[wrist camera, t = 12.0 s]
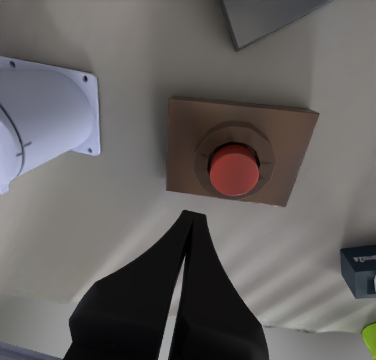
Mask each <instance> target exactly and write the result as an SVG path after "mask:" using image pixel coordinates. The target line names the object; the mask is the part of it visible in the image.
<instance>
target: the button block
mask: <svg viewBox="0 0 376 360" xmlns="http://www.w3.org/2000/svg"><path fill="white" fill-rule="evenodd" d="M318 117H319V113H317V112H315V111H313V110H311V109H303V108H293V107H283V106H273V105H263V104H253V103H243V102H233V101H223V100H213V99H203V98H193V97H183V96H173V97H171V98H169V111H168V144H167V178H166V190H167V191H174V192H181V193H188V194H195V195H202V196H209V197H216V198H221V199H228V200H235V201H243V202H250V203H257V204H264V205H271V206H278V207H286V205H287V202H288V199H289V196H290V194H291V191H292V188H293V185H294V183H295V180H296V177H297V174H298V172H299V169H300V166H301V163H302V161H303V158H304V155H305V152H306V150H307V147H308V144H309V141H310V139H311V136H312V133H313V130H314V128H315V125H316V122H317V119H318ZM233 144H235V145H241V146H244V147H246V148H247V149H249V150H250V151H251V153H252V154H253V156H254V158H255V161H256V164H257V166H258V170H259V177H258V181H257V183H256V184H255V186H254V187H253V188H252V189H251V190H250V191H248V192H247V193H245V194H242V195H238V196H230V195H225V194H223V193H221V192H219V191H218V190H217V189H216V188H215V187H214V186H213V184H212V182H211V179H210V169H211V161H212V158H213V156H214V154H215V153H216V152H217V151H218V150H219V149H221V148H222V147H224V146H227V145H233Z"/></svg>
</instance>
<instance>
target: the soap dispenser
mask: <svg viewBox="0 0 376 360" xmlns="http://www.w3.org/2000/svg"><path fill="white" fill-rule="evenodd" d="M362 337H363V339H364V341H365V343H366V345H367V347H368V348H369V351H370V352H371V354H372V356H373V358H374V360H376V323H374V324H371V325H369V326H367V327H366V328H365V329H364V330H363V331H362Z"/></svg>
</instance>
